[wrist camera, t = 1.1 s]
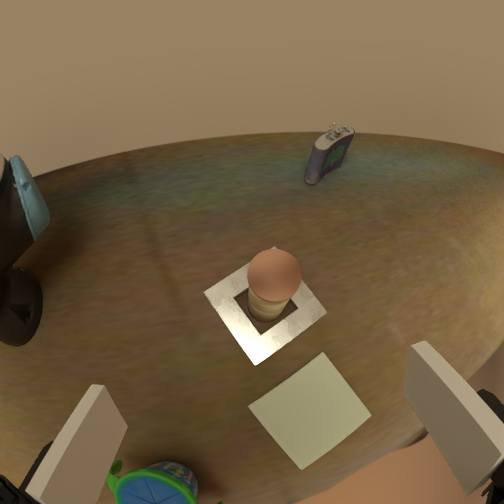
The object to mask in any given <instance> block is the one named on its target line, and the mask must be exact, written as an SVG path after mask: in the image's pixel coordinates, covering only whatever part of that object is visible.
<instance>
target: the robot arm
mask: <svg viewBox="0 0 504 504" xmlns="http://www.w3.org/2000/svg"><path fill="white" fill-rule="evenodd" d="M49 221H50V213H49V210H48V207H47V205H46V203H45V201H44V199H43V197H42V195H41V193H40V191H39V189H38V187H37V185H36V183H35V181H34V179H33V177H32V175H31V174H30V172H29V170H28V168H27V166H26V165H25V163H24V161H23V160H22V159H21V158H20V156H18V155H15V156H14V157H11V158H10V160H9V161H7V160H6V159H5V157H4V156H3V155H2V154H1V153H0V341H1V342H3V343H5V344H8V345H11V346H21V345H23V344H25V343H27V342H28V341H29V340H30V339H31V337H32V336H33V335H34V333H35V331H36V329H37V327H38V324H39V321H40V317H41V311H42V295H41V289H40V286H39V283H38V281H37V279H36V278H35V276H34V275H33V274H32V273H30V272H29V271H27V270H26V269H24V268H22V267H18V266H12V265H13V264H14V263H15V262H16V260H17V259H18V258H19V257H20V256H21V255H22V254H23V253H24V252H25V251H26V250H27V249H28V248H29V247H30V246H31V245H32V244H33V243H34V242H36V240H37V237H38V236H39V235H40V234H41V233H42V232H43V231H44V230H45V229H46V227H47V226H48V224H49ZM403 394H404V395H405V397H406V398H407V400H408V401H409V403H410V404H411V406H412V407H413V409H414V410H415V412H416V413H417V415H418V417H419V418H420V420H421V421H422V423H423V424H424V426H425V427H426V429H427V431H428V432H429V434H430V435H431V437H432V439H433V440H434V442H435V443H436V445H437V447H438V448H439V450H440V452H441V453H442V455H443V456H444V458H445V460H446V461H447V463H448V465H449V466H450V468H451V470H452V471H453V473H454V475H455V477H456V478H457V480H458V482H459V483H460V485H461V487H462V489H463V491H464V492H465V494H466V496H468V495H469V494H471V493H473V492H474V491H476V490H477V489H479V488H480V487H481V486H483V485H484V484H485V483H486V482H487V480H488V479H489V478H491V480H492V482H491V483H490V485H489V486H488V487H487V488H486V489H485V490H484V491H483V493H482V495H481V496H484V495H485V494H486V493H487V492H488V491H489V493H488V495H487V496H488V497H487V501H486V504H504V405H503V404H501V402H500V401H499V400H498V398H497V397H496V396H495V395H494V394H492V393H490V392H488V391H486V390H484V389H482V390H480V391H478V392H475V391H474V390H473V389H472V388H471V387H470V386H469V385H468V383H467V382H466V381H465V380H464V379H463V378H462V377H461V376H460V375H459V374H458V373H457V372H456V371H455V370H454V369H453V368H452V367H451V366H450V365H449V364H448V363H447V362H446V360H445V359H444V358H443V357H442V356H441V355H440V354H439V353H438V352H437V351H436V350H435V349H434V348H433V347H432V346H431V345H430V344H429V343H428V342H427V341H426V340H425V341H422V342H419V343H416V344H413V345H411V348H410V355H409V361H408V367H407V373H406V378H405V383H404V388H403ZM127 428H128V426H127V424H126V423H125V421H124V419H123V418H122V416H121V414H120V412H119V411H118V409H117V407H116V405H115V404H114V402H113V400H112V398H111V396H110V394H109V393H108V391H107V389H106V387H105V385H93V384H92V385H91V386H90V388H89V389H88V390H87V392H86V393H85V395H84V396H83V398H82V399H81V401H80V402H79V404H78V405H77V407H76V408H75V410H74V411H73V413H72V414H71V416H70V417H69V419H68V420H67V422H66V424H65V425H64V427H63V428H62V430H61V431H60V433H59V434H58V436H57V438H56V439H55V441H54V442H53V441H51V442H50V443H48V444H47V445H46V446H45V447H44V448H43V449H42V451H41V452H40V454H39V455H38V458H37V459H36V460H35V462H34V464H33V465H32V467H31V469H30V470H29V472H28V474H27V475H26V477H25V479H24V480H23V482H22V484H21V486H20V487H19V488H18V489H17V488H16V487H15V486H14V485H13V484H12V483H11V482H10V481H9V480H8V479H7V478H6V477H5V476H3V475H0V504H96V503H97V501H98V498H99V496H100V493H101V490H102V488H103V485H104V483H105V480H106V478H107V475H108V473H109V470H110V468H111V466H112V463H113V461H114V458H115V456H116V453H117V451H118V449H119V446H120V444H121V442H122V439H123V437H124V435H125V432H126V430H127Z"/></svg>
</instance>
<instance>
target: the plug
mask: <svg viewBox="0 0 504 504" xmlns="http://www.w3.org/2000/svg"><path fill="white" fill-rule="evenodd" d="M247 279H248V284H249V293H248V310H249V312H250V314H251V316H252V317H253V318H254V319H256V320H257V321H260V322H271V321H273V320H275V319H276V318H277V317H278V316H279V315H280V314H281V312H282V310H283V309H284V307H285V306H286V304H287V302H288V301H289V299H290V297H292V296H293V295H294V294H295V293H296V291H297V290H298V288H299V286H300V284H301V280H302V271H301V267H300V265H299V263H298V261H297V260H296V259H295V258H294V257H293V256H292V255H291V254H289V253H288V252H286V251H283V250H279V249H268V250H265V251H262V252H260V253H259V254H257V255H256V256H255V257H254V258H253V259H252V261H251V262H250V264H249V267H248V272H247Z"/></svg>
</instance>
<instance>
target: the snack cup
mask: <svg viewBox="0 0 504 504" xmlns="http://www.w3.org/2000/svg"><path fill="white" fill-rule="evenodd" d="M121 467H122V461H121V460H117V461H115V462H114V463H112V466H111V468H110V470H109V473H108V475H107V478H106V482H107V485H108V487H109V488H110V490H111V491H112V492H113V493H114V499H115V502H116V504H198V482H197V479H196V477H195V475H194V474H193V472H192V471H191V470H190V469H189V468H187V467H185V466H184V465H182V464H180V463H176V462H171V461H162V462H157V463H155V464H152V465H150V466H148V467H145V468H140V469H137V470H133V471H130V472H128V473H126V474H125V475H123V476H122V477H116V476H114V475H113V474H117V473H118V472H120V470H121ZM218 504H223V503H222V502H221V501H220V502H219V503H218Z"/></svg>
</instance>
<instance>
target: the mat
mask: <svg viewBox="0 0 504 504" xmlns="http://www.w3.org/2000/svg"><path fill="white" fill-rule="evenodd" d="M248 407H249V409H250V410H251V411H252V412H253V414H254V415H255V416H256V417H257V419H258V420H259V421H260V423H261V424H262V425H263V426H264V427H265V429H266V430H267V431H268V432H269V434H270V435H271V436H272V437H273V438H274V440H275V441H276V442H277V443H278V444H279V445H280V447H281V448H282V449H283V450H284V451H285V452H286V454H287V455H288V456H289V457H290V458H291V459H292V460H293V461H294V463H295V464H296V465H297V466H298V467H299V468H300V469H301V470H302V469H304V468H305V467H307V466H308V465H310V464H311V463H313V462H314V461H316V460H317V459H318V458H320V457H321V456H323V455H324V454H325V453H327V452H328V451H329V450H331V449H332V448H333V447H335V446H336V445H337V444H338V443H340V442H341V441H342V440H343V439H345V438H346V437H347V436H348V435H350V434H351V433H352V432H353V431H354V430H356V429H357V428H358V427H359V426H360V425H361V424H363V423H364V422H365V421H366V420H367V419H368V418H369V417H370V416H371V414H370V412H369V411H368V410H367V408H366V407H365V406H364V404H363V403H362V402H361V401H360V399H359V398H358V397H357V395H356V394H355V393H354V391H353V390H352V389H351V388H350V386H349V385H348V384H347V382H346V381H345V380H344V378H343V377H342V376H341V375H340V373H339V372H338V371H337V369H336V368H335V367H334V365H333V364H332V363H331V362H330V360H329V359H328V358H327V356H326V355H325V354H324V352H321V353H320V354H319V355H318V356H316V357H315V358H314V359H313V360H311V361H310V362H309V363H307V364H306V365H305V366H304V367H302V368H301V369H300V370H298V371H297V372H296V373H294V374H293V375H292V376H290V377H289V378H287V379H286V380H285V381H283V382H282V383H281V384H279V385H278V386H276V387H275V388H273V389H272V390H271V391H269V392H268V393H266V394H265V395H263V396H262V397H260V398H259V399H257V400H256V401H254V402H253V403H251V404H250V405H248Z"/></svg>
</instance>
